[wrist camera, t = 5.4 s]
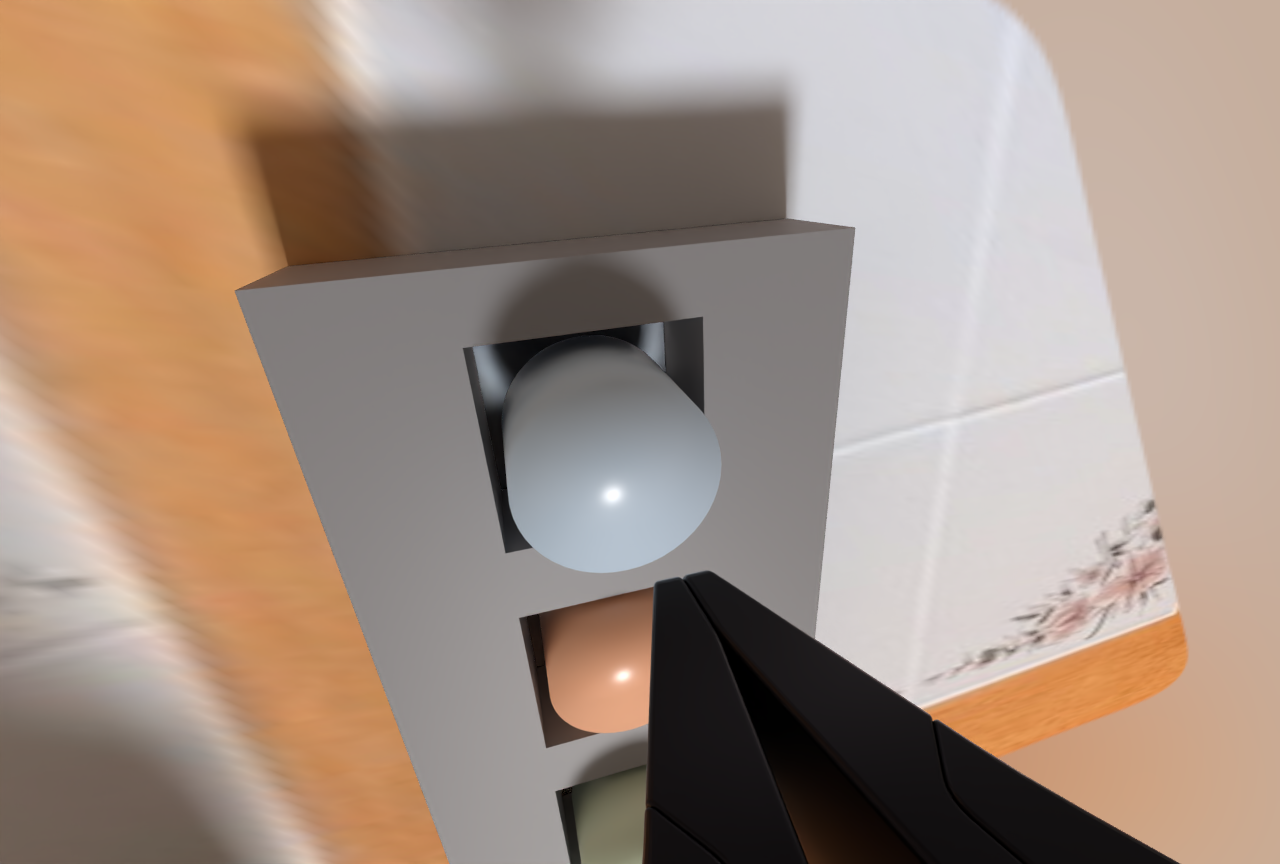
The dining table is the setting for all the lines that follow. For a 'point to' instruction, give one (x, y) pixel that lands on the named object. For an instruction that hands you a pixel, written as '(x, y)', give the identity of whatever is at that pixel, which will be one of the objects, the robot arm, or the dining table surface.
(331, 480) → the button panel
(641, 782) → the button sage
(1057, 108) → the dining table surface
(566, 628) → the button terracotta
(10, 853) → the dining table surface
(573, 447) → the button blue
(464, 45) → the dining table surface
